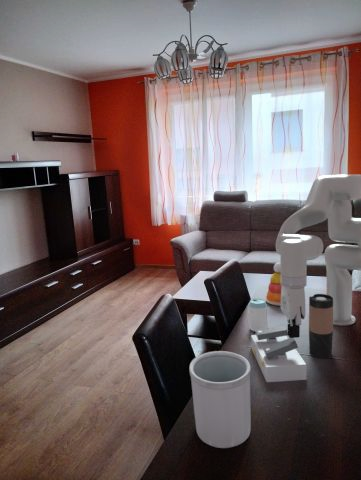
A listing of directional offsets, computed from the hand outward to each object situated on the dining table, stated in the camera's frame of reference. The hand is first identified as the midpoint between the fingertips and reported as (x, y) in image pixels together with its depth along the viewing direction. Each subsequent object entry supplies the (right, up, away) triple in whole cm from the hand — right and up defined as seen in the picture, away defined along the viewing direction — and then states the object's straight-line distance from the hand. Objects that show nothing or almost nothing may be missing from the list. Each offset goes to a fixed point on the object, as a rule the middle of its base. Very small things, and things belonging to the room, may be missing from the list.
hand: (293, 336), depth 116 cm
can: (-4, -6, +33) cm, 34 cm away
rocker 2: (-4, -4, +1) cm, 6 cm away
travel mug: (+13, -9, +12) cm, 20 cm away
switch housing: (-3, -11, +8) cm, 13 cm away
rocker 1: (-4, -2, +12) cm, 12 cm away
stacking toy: (+12, 0, +61) cm, 62 cm away
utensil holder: (-25, -18, -22) cm, 38 cm away
